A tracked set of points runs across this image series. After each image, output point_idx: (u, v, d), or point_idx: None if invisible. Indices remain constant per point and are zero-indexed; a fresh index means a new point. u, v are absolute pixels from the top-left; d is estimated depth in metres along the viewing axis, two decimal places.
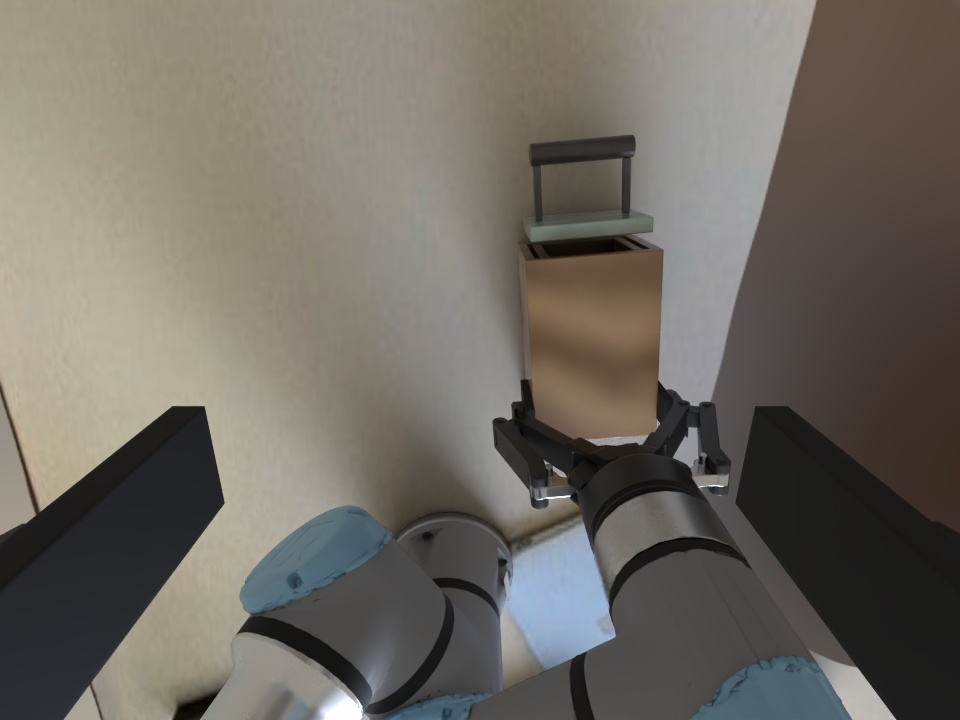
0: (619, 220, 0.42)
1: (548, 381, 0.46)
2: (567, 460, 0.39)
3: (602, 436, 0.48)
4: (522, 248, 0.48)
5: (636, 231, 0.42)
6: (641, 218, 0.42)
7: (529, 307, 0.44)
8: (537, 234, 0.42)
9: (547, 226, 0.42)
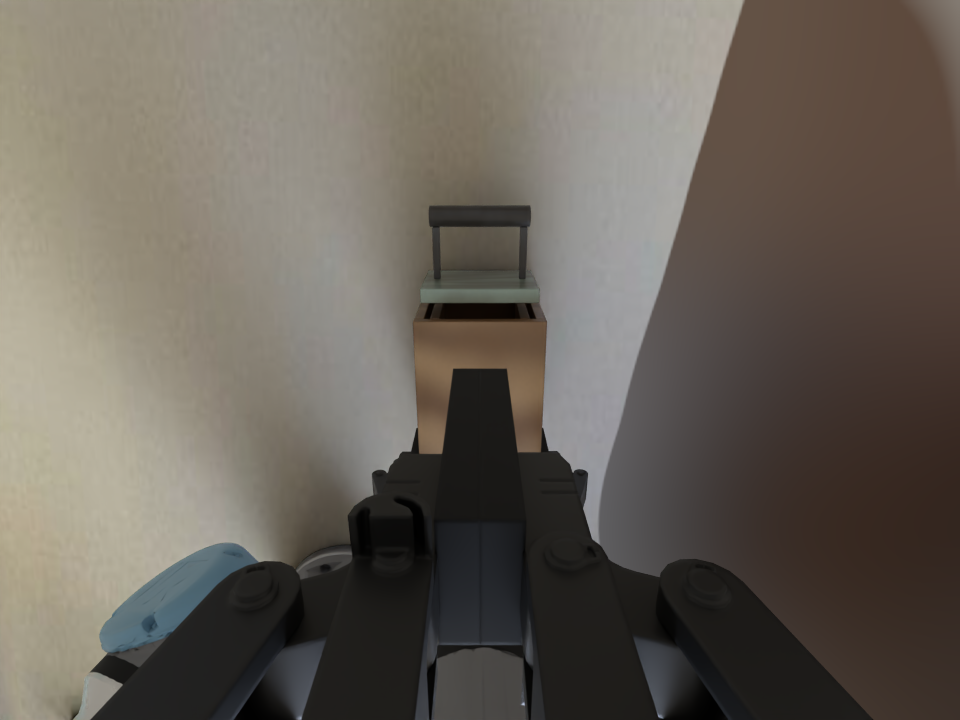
0: (506, 289, 0.43)
1: (434, 436, 0.47)
2: None
3: None
4: None
5: (523, 301, 0.43)
6: (528, 289, 0.43)
7: (416, 365, 0.45)
8: (426, 296, 0.43)
9: (436, 289, 0.43)
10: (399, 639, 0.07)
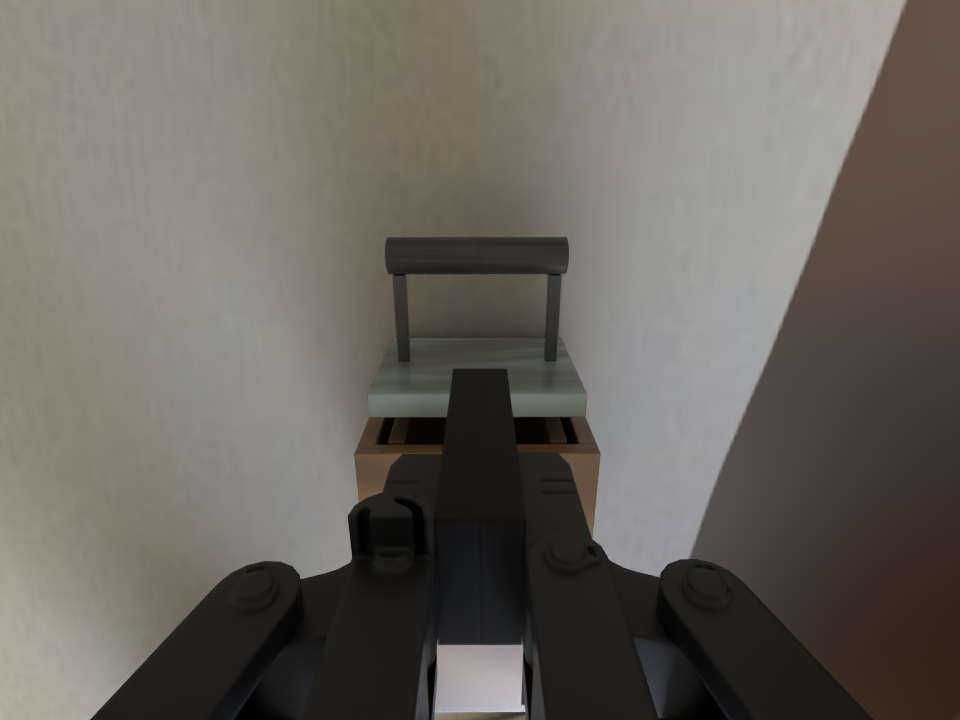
0: (526, 394, 0.23)
1: None
2: None
3: (490, 709, 0.29)
4: None
5: (556, 414, 0.24)
6: (566, 394, 0.24)
7: None
8: (380, 406, 0.24)
9: (398, 394, 0.23)
10: (399, 639, 0.07)
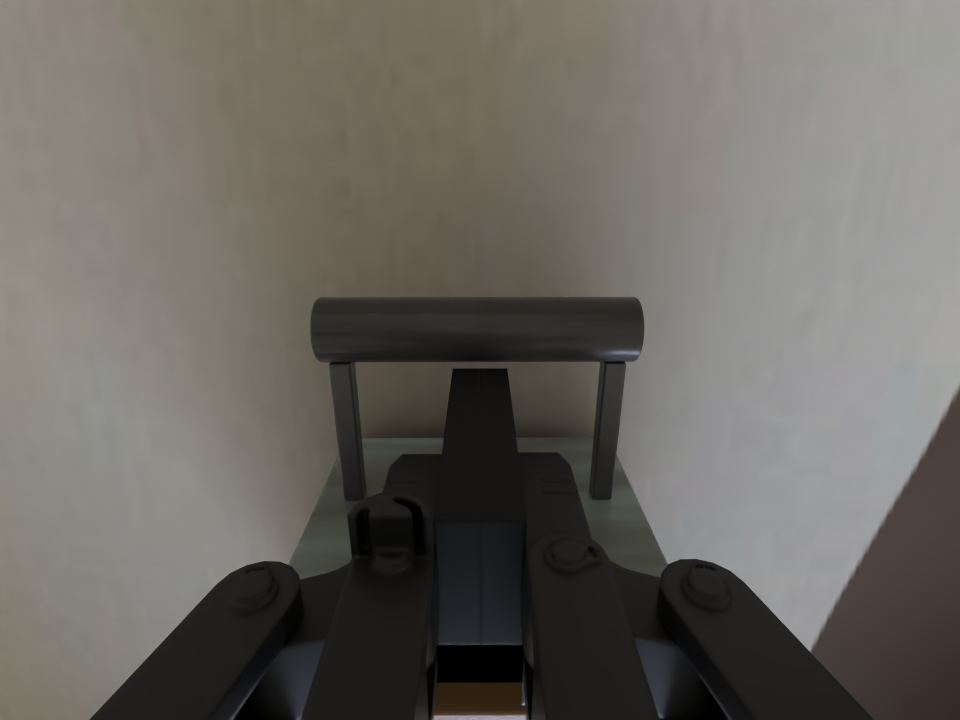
0: None
1: None
2: None
3: None
4: None
5: None
6: None
7: None
8: None
9: None
10: (398, 639, 0.06)
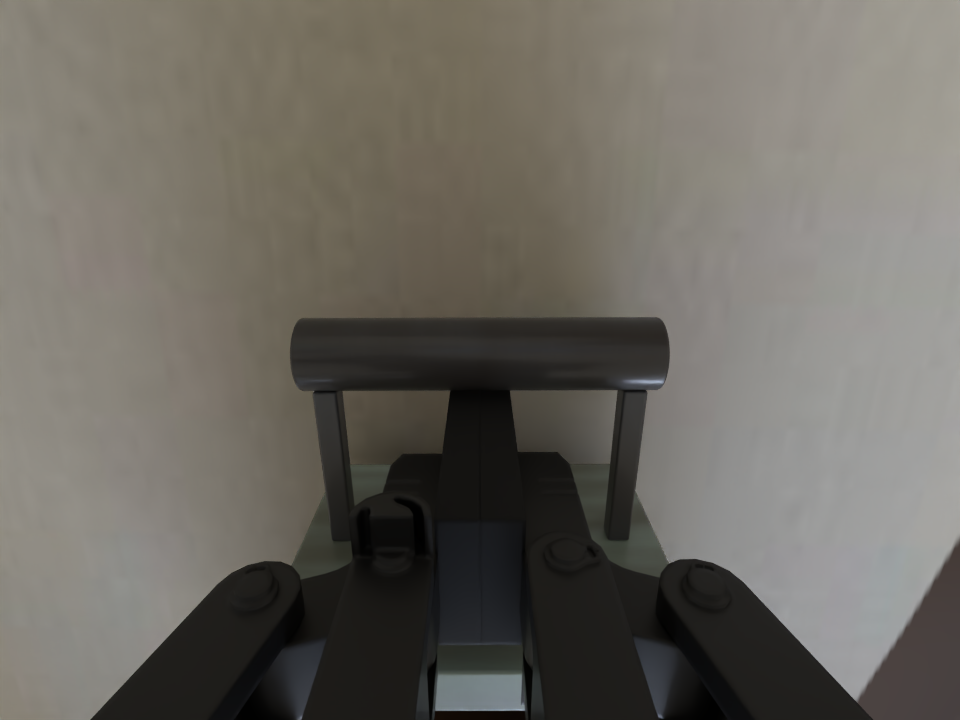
0: None
1: None
2: None
3: None
4: None
5: None
6: None
7: None
8: None
9: None
10: (399, 639, 0.07)
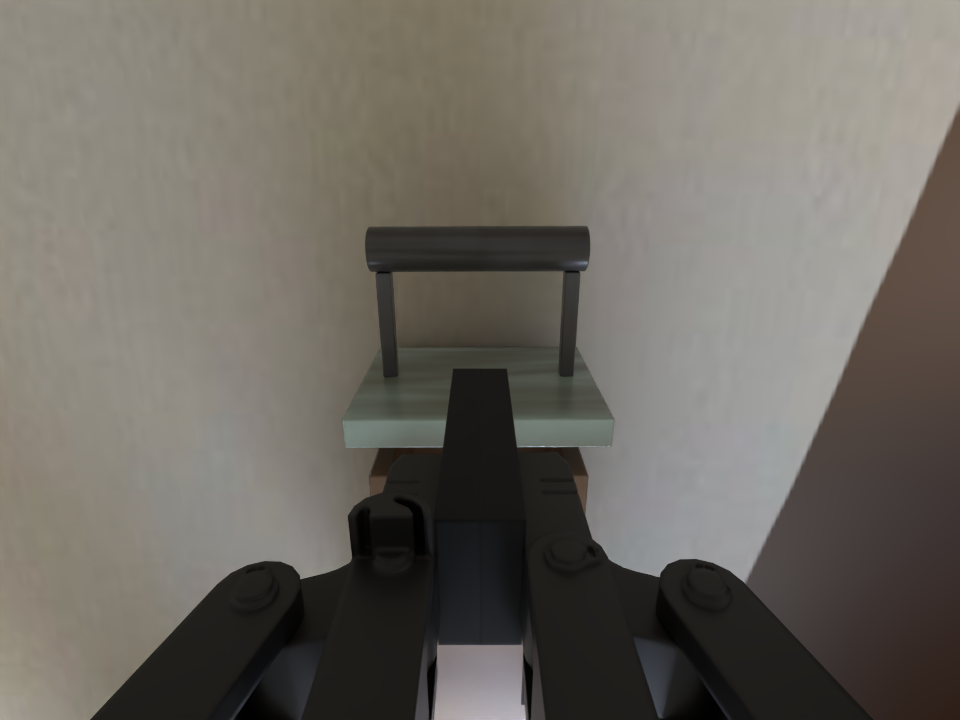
0: (539, 419, 0.19)
1: None
2: None
3: None
4: None
5: (575, 444, 0.19)
6: (588, 419, 0.19)
7: None
8: (358, 434, 0.19)
9: (380, 419, 0.19)
10: (399, 639, 0.07)
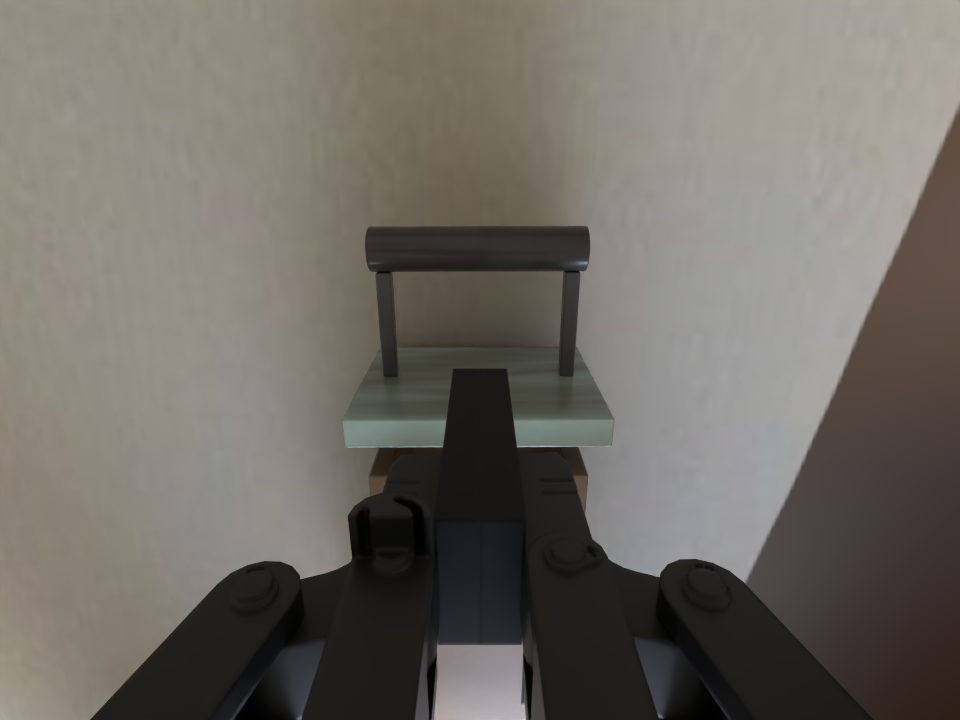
0: (539, 419, 0.19)
1: None
2: None
3: None
4: None
5: (575, 444, 0.19)
6: (588, 419, 0.19)
7: None
8: (357, 434, 0.19)
9: (380, 419, 0.19)
10: (399, 639, 0.07)
